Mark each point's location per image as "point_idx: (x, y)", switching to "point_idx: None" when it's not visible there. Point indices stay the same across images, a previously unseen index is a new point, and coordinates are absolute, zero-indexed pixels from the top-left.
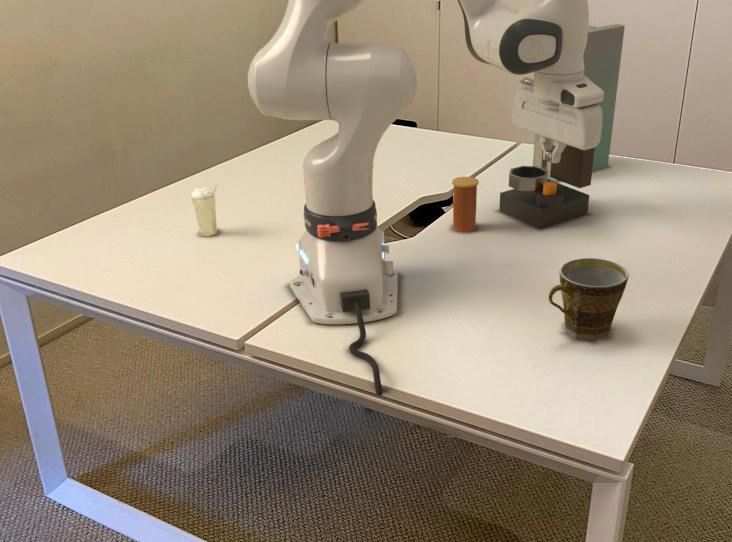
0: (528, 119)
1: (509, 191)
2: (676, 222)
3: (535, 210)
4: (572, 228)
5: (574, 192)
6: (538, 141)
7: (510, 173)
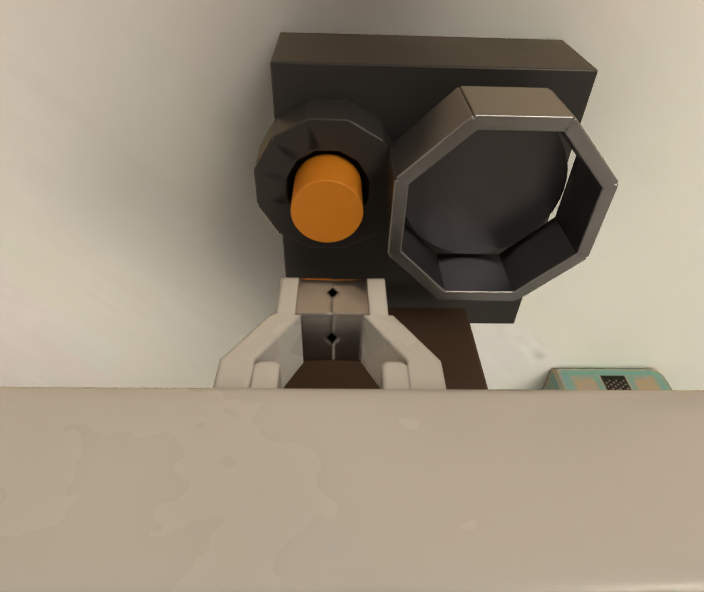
0: (632, 491)
1: None
2: (111, 386)
3: (310, 58)
4: (217, 153)
5: None
6: None
7: (574, 129)
